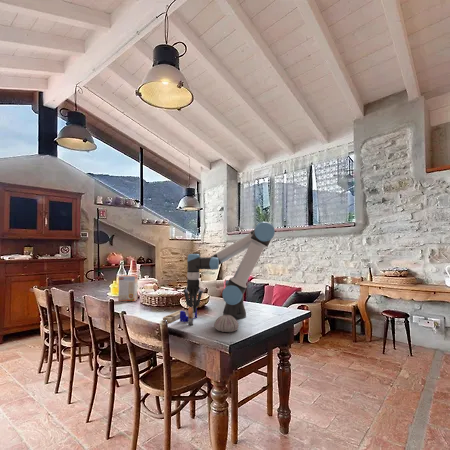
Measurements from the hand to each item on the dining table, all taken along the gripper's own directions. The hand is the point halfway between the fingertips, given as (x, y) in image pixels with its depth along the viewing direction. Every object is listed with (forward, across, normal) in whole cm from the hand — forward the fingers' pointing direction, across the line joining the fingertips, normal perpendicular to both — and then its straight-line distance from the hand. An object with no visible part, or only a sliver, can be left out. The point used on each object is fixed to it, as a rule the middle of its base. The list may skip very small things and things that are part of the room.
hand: (192, 317), depth 180 cm
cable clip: (+2, -3, +1) cm, 4 cm away
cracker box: (+2, -78, +37) cm, 87 cm away
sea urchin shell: (+2, +26, -12) cm, 29 cm away
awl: (+2, +4, -10) cm, 11 cm away
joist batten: (+2, -12, -1) cm, 12 cm away
